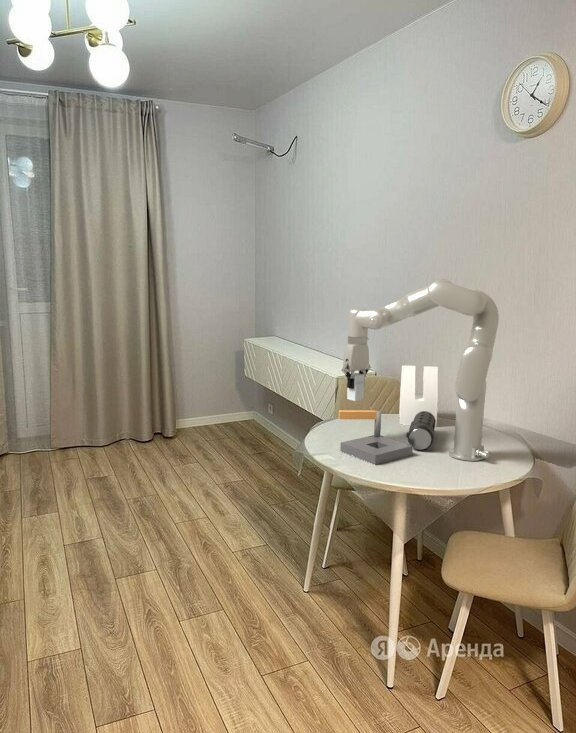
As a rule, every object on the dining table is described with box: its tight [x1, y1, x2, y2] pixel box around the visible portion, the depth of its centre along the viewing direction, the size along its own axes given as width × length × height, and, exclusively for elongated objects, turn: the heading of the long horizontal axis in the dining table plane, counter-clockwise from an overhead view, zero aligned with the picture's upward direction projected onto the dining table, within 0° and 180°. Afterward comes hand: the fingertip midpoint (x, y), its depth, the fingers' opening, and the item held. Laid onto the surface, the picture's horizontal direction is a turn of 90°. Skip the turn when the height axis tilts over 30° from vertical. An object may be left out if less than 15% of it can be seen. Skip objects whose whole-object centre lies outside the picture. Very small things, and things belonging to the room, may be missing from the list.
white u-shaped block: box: [398, 364, 439, 427], centre depth 256 cm, size 19×15×25 cm
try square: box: [338, 409, 382, 437], centre depth 219 cm, size 16×2×10 cm, turn 93°
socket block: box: [339, 434, 414, 466], centre depth 211 cm, size 18×19×4 cm
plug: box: [346, 372, 366, 402], centre depth 223 cm, size 5×5×10 cm
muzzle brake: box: [405, 411, 437, 451], centre depth 226 cm, size 10×28×10 cm
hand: (355, 386), depth 223 cm, fingers closed on plug, 4 cm apart
